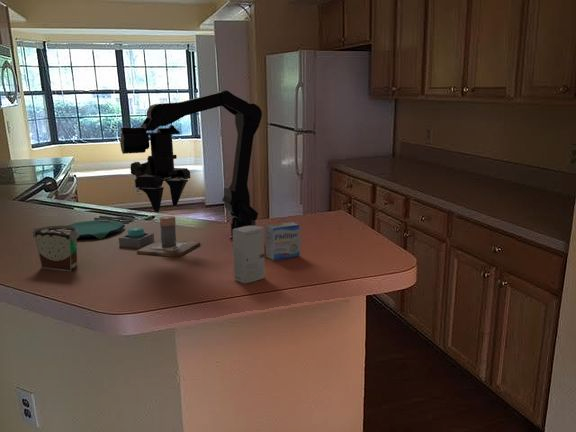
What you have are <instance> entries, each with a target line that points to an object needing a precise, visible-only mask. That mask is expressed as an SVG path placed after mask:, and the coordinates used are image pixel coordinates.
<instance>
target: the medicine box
mask: <svg viewBox="0 0 576 432" xmlns="http://www.w3.org/2000/svg"><path fill="white" fill-rule="evenodd" d="M300 242H301V241H300V224H298V223H296V222H293V221H291V222H290V221H289V222H284V223H282V222H281V223H277V224H270V225H269V224H268V225H265V255H266V257H267V258H269V260H272V261H275V262H277V261H281V260H286V259H287V260H288V259H292V258H297V257H300V252H301V251H300V249H301V248H300V247H301V245H300Z"/></svg>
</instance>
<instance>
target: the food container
mask: <svg viewBox="0 0 576 432" xmlns="http://www.w3.org/2000/svg"><path fill="white" fill-rule="evenodd" d="M69 225H70V224H68V225H65V224H59V225H58V224H57V225H56V224H55V225H49V226H41V227H37V228H33V231H32V238H34V240H35V243H36V244H35V245H36V249H37V253H38V258H39V263H40V267H41V269H46V270H47V269H49V270H55V271H56V270H57V271H65V272H73V271H75V270H77V268H78V243H77V241H78V240H77V239H78V238H80V237H79V233H78V230H77V229H76V227H74V226H69Z"/></svg>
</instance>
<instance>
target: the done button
mask: <svg viewBox="0 0 576 432" xmlns="http://www.w3.org/2000/svg"><path fill="white" fill-rule="evenodd" d="M144 232H145V228H143V227H132V228H129V229H127V234H128V237H129V238H141V237H143V236H144Z"/></svg>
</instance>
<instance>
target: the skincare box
mask: <svg viewBox="0 0 576 432" xmlns="http://www.w3.org/2000/svg"><path fill="white" fill-rule="evenodd" d="M232 232H233V236H232V237H233V240H232V254H233V255H232V256H233V275H234V277H233V278H234V280H235V281H236V282H239V283H241V284H244V285H245V284H249V283H250V284H251V283H252V282H257V281H260V280H262V279H265V277H266V275H265V274H266V273H265V267H266V266H265V237H264V227H262V226H257V225H256V226H254V225H250V226H244V227H240V228H235V229H233V230H232Z"/></svg>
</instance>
